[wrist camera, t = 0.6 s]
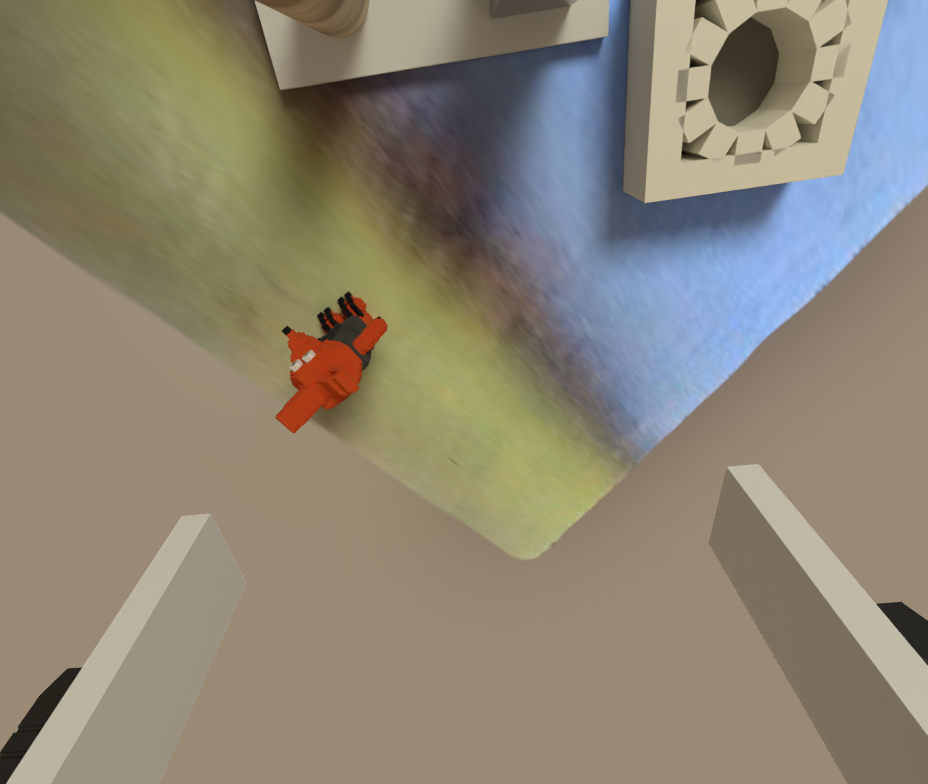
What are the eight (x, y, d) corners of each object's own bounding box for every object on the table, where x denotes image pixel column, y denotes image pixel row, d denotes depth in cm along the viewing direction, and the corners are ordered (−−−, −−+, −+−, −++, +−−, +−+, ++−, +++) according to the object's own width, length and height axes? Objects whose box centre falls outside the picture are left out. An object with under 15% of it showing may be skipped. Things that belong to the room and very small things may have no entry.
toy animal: (355, 254, 36) (315, 317, 25) (401, 310, 38) (382, 387, 28) (280, 313, 38) (216, 392, 28) (328, 362, 40) (286, 452, 30)
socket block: (630, -31, 27) (659, -52, 24) (847, -68, 27) (912, -96, 23) (622, 191, 34) (644, 203, 30) (797, 165, 33) (843, 174, 29)
